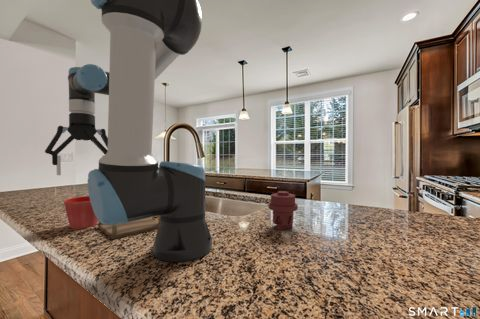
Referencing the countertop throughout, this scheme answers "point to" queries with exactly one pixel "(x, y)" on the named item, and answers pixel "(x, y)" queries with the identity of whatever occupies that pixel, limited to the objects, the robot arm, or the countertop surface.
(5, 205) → the countertop surface
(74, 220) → the flower pot
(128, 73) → the robot arm
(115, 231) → the pot stand
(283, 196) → the mechanical component
